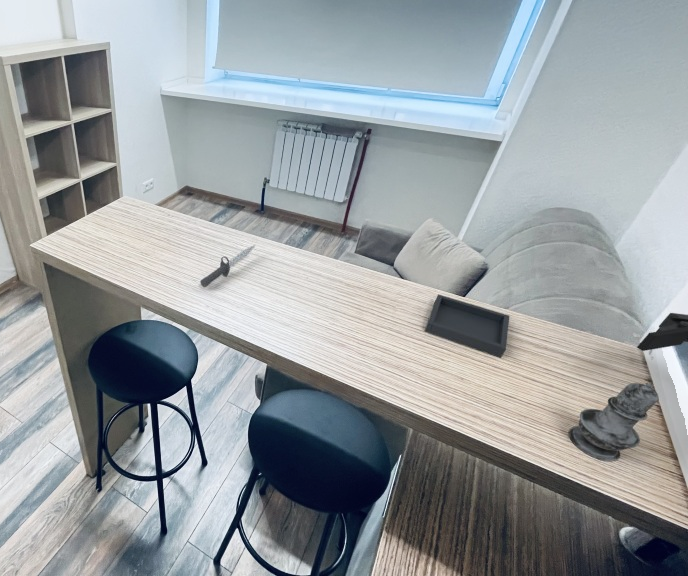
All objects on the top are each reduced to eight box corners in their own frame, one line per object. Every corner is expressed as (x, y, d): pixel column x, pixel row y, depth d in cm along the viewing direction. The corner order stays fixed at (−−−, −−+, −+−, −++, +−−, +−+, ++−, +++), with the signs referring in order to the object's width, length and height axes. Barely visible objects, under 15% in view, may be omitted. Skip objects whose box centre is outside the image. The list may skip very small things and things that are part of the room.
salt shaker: (634, 467, 52) (702, 406, 45) (580, 458, 53) (639, 398, 46) (605, 429, 57) (663, 368, 50) (556, 421, 58) (606, 361, 51)
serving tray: (504, 324, 75) (509, 315, 74) (500, 357, 68) (506, 348, 67) (434, 302, 81) (438, 294, 80) (424, 331, 74) (428, 322, 73)
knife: (250, 251, 97) (252, 233, 94) (259, 254, 96) (260, 236, 93) (198, 289, 87) (198, 270, 84) (207, 294, 85) (207, 275, 82)
